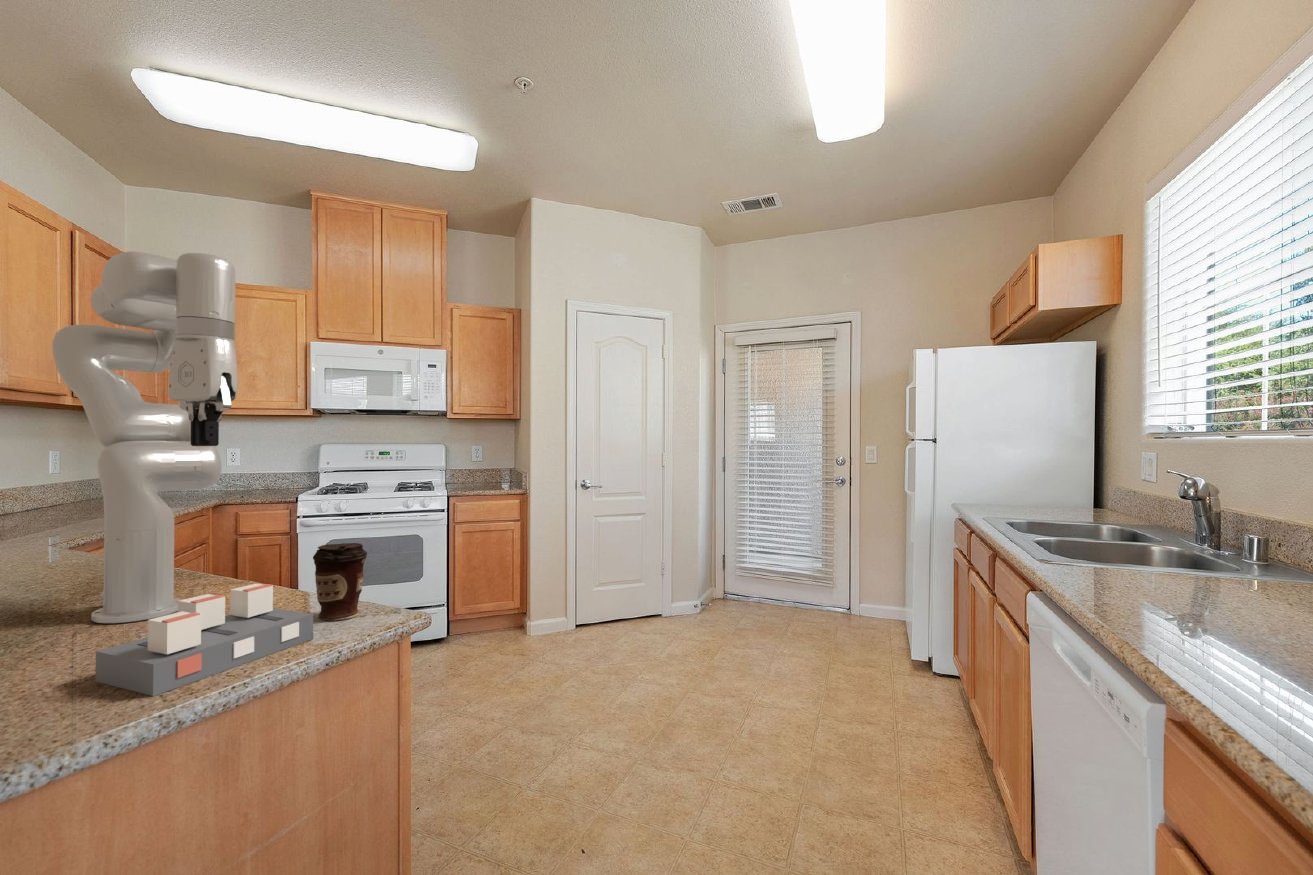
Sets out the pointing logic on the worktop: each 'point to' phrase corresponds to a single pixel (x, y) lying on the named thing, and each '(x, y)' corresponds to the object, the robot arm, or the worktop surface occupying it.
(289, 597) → the worktop surface
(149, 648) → the white box
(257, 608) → the white red-striped block
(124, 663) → the console
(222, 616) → the white red-striped block
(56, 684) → the worktop surface
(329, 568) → the coffee cup
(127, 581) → the robot arm
